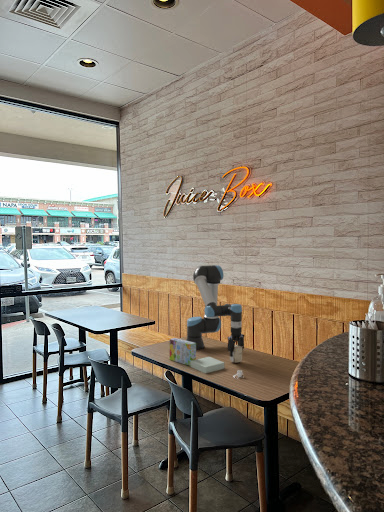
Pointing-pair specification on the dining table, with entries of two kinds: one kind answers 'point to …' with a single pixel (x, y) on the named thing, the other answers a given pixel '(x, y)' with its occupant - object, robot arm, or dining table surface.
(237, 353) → the maple block
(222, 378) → the dining table surface
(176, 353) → the snack box
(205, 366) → the sage base plate
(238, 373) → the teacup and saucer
